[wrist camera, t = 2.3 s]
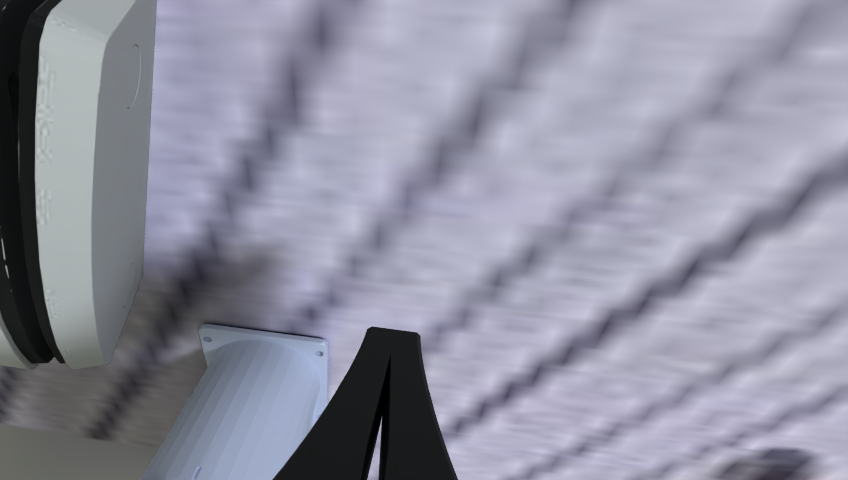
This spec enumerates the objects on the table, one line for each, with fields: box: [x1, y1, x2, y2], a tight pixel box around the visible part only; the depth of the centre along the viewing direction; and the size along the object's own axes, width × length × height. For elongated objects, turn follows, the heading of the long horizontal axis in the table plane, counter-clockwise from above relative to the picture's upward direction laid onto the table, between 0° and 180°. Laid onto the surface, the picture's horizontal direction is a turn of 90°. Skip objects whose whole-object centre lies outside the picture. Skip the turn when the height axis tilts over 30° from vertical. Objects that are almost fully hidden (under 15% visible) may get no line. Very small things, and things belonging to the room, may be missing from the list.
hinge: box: [0, 0, 157, 370], centre depth 15 cm, size 17×5×10 cm, turn 156°
